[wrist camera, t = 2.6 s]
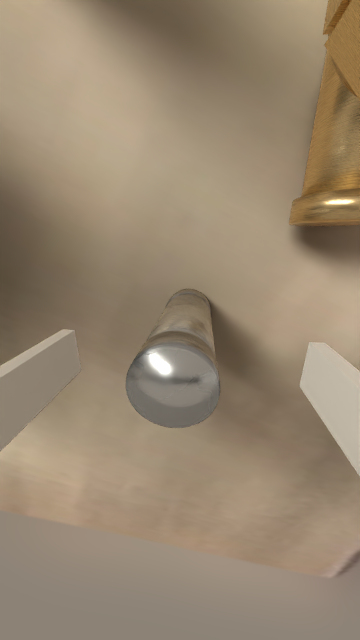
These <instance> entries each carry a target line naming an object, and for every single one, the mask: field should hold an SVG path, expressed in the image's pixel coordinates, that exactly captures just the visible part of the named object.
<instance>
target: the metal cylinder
mask: <svg viewBox="0 0 360 640" xmlns="http://www.w3.org/2000/svg"><path fill="white" fill-rule="evenodd" d="M126 391H127V395H128V398H129V400H130V402H131V404H132V406H133V407H134V408H135V410H136V411H137V412H138V413H139V414H140V415H142V416H143V417H144V418H146V419H147V420H149V421H151V422H153V423H155V424H158V425H160V426H164V427H170V428H184V427H189V426H192V425H195V424H198V423H200V422H201V421H203V420H205V419H206V418H207V417H208V416H209V415H210V414H211V413H212V412H213V411H214V409H215V407H216V405H217V403H218V399H219V395H220V381H219V373H218V365H217V360H216V356H215V348H214V339H213V330H212V321H211V308H210V303H209V301H208V299H207V298H206V297H205V296H204V295H203V294H202V293H201V292H199V291H197V290H193V289H184V290H180V291H178V292H177V293H175V294H174V295H173V296H172V297H171V299H170V300H169V302H168V304H167V305H166V308H165V310H164V312H163V313H162V315H161V317H160V318H159V320H158V322H157V324H156V325H155V327H154V329H153V330H152V332H151V334H150V336H149V337H148V339H147V341H146V342H145V343H144V345H143V346H142V348H141V349H140V351H139V352H138V354H137V356H136V358H135V359H134V361H133V363H132V364H131V366H130V368H129V370H128V373H127V379H126Z"/></svg>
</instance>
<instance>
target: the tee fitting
mask: <svg viewBox="0 0 360 640" xmlns="http://www.w3.org/2000/svg"><path fill="white" fill-rule="evenodd" d="M324 34H328V40H327V42H326V43H325V47H326V48H327V52H326V58H325V64H324V70H323V75H322V81H321V87H320V93H319V98H318V104H317V110H316V116H315V121H314V127H313V133H312V139H311V144H310V150H309V156H308V162H307V167H306V173H305V179H304V185H303V190H302V196H301V197H300V198H298V199H295V200H294V201H293V202H292V208H291V215H290V221H289V225H295V226H345V225H360V0H328V6H327V12H326V18H325V24H324V30H323V35H324Z"/></svg>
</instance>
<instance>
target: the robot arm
mask: <svg viewBox="0 0 360 640" xmlns="http://www.w3.org/2000/svg"><path fill="white" fill-rule="evenodd" d="M80 371H81V364H80V358H79V352H78V346H77V340H76V334H75V330H66V329H62V330H61V331H59V332H57V333H55V334H54V335H52V336H50V337H49V338H47V339H45V340H43V341H42V342H40V343H38V344H37V345H35V346H33V347H31V348H30V349H28V350H26V351H25V352H23V353H21V354H19V355H18V356H16V357H14V358H13V359H11V360H9V361H7V362H6V363H4V364H2V365H1V366H0V451H1V450H2V449H3V448H4V447H5V446H6V445H7V444H8V443H9V442H10V441H11V440H12V439H13V438H14V437H15V436H16V435H17V434H18V433H19V432H20V431H21V430H22V429H23V428H24V427H25V426H26V425H27V424H28V423H29V422H30V421H31V420H32V419H33V418H34V417H35V416H36V415H37V414H38V413H39V412H40V411H41V410H42V409H43V408H44V407H45V406H46V405H47V404H48V403H49V402H50V401H51V400H52V399H53V398H54V397H55V396H56V395H57V394H58V393H59V392H60V391H61V390H62V389H63V388H64V387H65V386H66V385H67V384H68V383H69V382H70V381H71V380H72V379H73V378H74V377H75V376H76V375H77V374H78V373H79V372H80ZM299 386H300V388H301V389H302V391H303V392H304V394H305V395H306V397H307V398H308V400H309V401H310V403H311V404H312V406H313V407H314V409H315V410H316V412H317V413H318V415H319V416H320V418H321V419H322V421H323V422H324V424H325V425H326V427H327V428H328V430H329V431H330V433H331V434H332V436H333V437H334V439H335V440H336V442H337V443H338V445H339V446H340V448H341V449H342V451H343V452H344V454H345V455H346V457H347V458H348V460H349V461H350V463H351V464H352V466H353V467H354V469H355V470H356V472H357V473H358V475H359V476H360V371H359V370H358V369H356V368H355V367H354V366H353V365H351V364H350V363H349V362H348V361H347V360H345V359H344V358H343V357H342V356H340V355H339V354H338V353H337V352H335V351H334V350H333V349H332V348H331V347H329V346H328V345H327V344H326V343H319V342H309V345H308V350H307V354H306V359H305V363H304V367H303V372H302V376H301V381H300V385H299Z"/></svg>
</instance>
